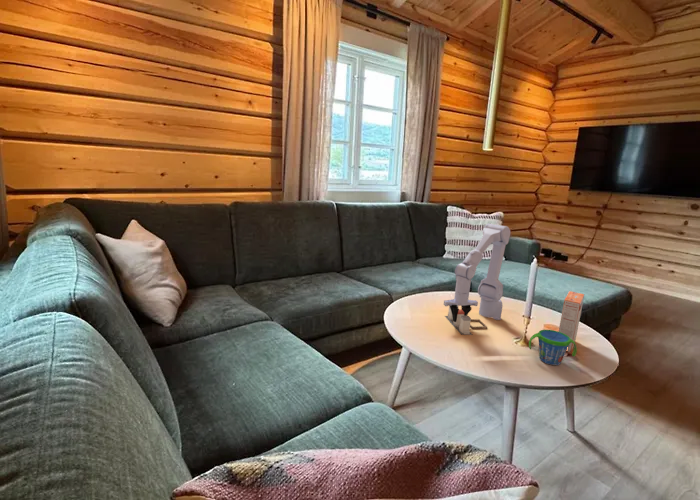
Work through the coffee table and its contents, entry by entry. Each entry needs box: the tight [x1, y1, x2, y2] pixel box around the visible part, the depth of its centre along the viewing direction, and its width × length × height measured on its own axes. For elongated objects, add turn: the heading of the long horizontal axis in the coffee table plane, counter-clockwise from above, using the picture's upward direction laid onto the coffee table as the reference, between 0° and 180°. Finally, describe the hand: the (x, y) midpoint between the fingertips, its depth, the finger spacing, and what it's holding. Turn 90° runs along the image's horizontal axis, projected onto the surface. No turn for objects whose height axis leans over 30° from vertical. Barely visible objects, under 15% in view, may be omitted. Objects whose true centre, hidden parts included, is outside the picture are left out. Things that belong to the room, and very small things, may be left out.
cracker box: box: [558, 290, 585, 354], centre depth 152 cm, size 14×6×21 cm, turn 144°
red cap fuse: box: [453, 308, 464, 326], centre depth 164 cm, size 3×3×6 cm
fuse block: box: [444, 315, 473, 336], centre depth 165 cm, size 5×19×2 cm, turn 7°
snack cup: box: [528, 329, 578, 366], centre depth 140 cm, size 16×10×10 cm
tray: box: [470, 318, 488, 330], centre depth 166 cm, size 7×8×2 cm
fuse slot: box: [459, 315, 472, 333], centre depth 158 cm, size 3×3×6 cm
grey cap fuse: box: [447, 306, 459, 320], centre depth 170 cm, size 3×3×6 cm
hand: (458, 321), depth 164 cm, fingers closed on red cap fuse, 3 cm apart
